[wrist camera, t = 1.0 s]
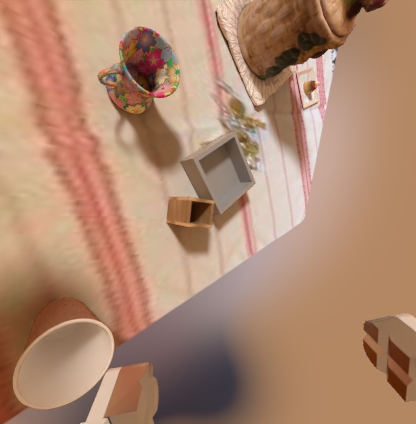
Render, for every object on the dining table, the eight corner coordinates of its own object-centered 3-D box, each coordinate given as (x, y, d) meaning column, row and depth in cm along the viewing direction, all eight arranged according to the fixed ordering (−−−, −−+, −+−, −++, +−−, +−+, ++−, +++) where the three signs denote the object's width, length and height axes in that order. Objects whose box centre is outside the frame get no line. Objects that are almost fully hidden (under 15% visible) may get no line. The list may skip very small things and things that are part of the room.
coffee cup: (63, 360, 36) (71, 419, 26) (0, 335, 31) (-17, 396, 22) (109, 305, 40) (130, 339, 30) (60, 275, 35) (68, 304, 26)
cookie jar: (209, 10, 50) (382, -180, 25) (261, -17, 60) (422, -170, 35) (254, 110, 61) (404, 50, 36) (291, 73, 71) (429, 7, 46)
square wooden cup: (166, 222, 46) (186, 226, 40) (169, 196, 46) (189, 197, 40) (189, 223, 50) (211, 227, 44) (192, 200, 50) (214, 200, 44)
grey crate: (180, 161, 47) (192, 158, 43) (220, 135, 54) (235, 130, 50) (207, 213, 53) (220, 214, 49) (241, 184, 59) (255, 183, 55)
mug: (141, 61, 41) (167, 26, 33) (159, 112, 44) (188, 92, 35) (74, 66, 34) (85, 24, 26) (101, 125, 37) (119, 105, 29)
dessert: (300, 109, 77) (314, 105, 73) (293, 73, 73) (307, 66, 69) (315, 102, 83) (329, 97, 79) (309, 68, 79) (323, 61, 75)
